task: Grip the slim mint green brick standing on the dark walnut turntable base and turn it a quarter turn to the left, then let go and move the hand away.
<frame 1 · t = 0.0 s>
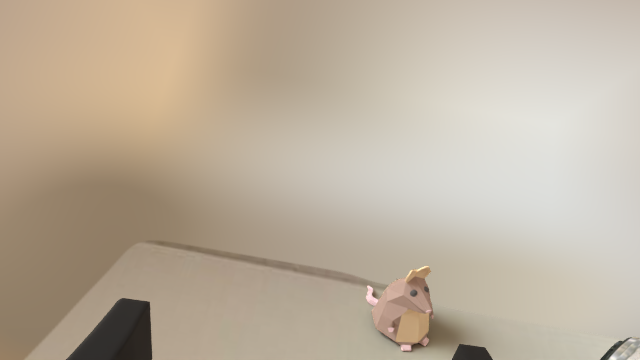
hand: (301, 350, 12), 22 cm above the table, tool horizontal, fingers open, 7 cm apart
mouse figurine: (390, 317, 45), on the table
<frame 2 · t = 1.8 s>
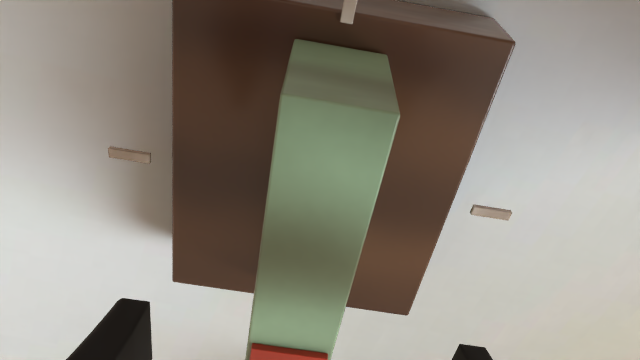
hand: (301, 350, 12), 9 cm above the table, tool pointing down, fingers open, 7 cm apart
mint green brick: (311, 221, 15), point 5 cm above the table, hinge at 0.0°
turntable: (317, 147, 19), on the table
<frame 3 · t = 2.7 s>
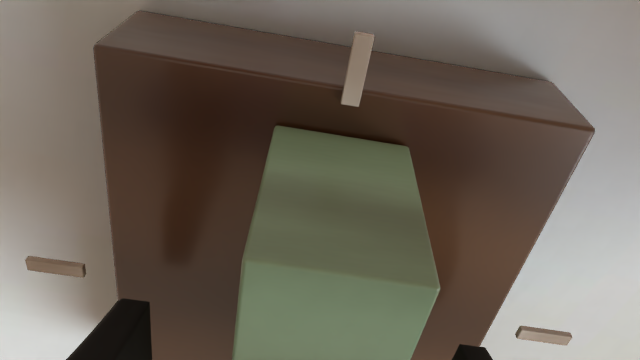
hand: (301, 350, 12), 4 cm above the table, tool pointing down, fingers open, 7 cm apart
turntable: (312, 237, 15), on the table
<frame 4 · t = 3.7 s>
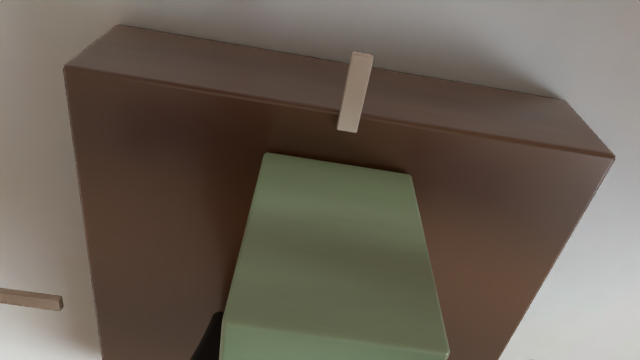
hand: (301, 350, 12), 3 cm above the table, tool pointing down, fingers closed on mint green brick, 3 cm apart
turntable: (307, 261, 14), on the table
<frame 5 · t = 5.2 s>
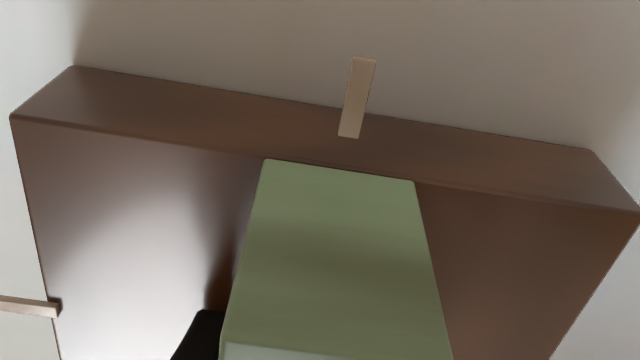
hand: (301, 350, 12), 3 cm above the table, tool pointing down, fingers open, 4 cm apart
turntable: (307, 267, 14), on the table
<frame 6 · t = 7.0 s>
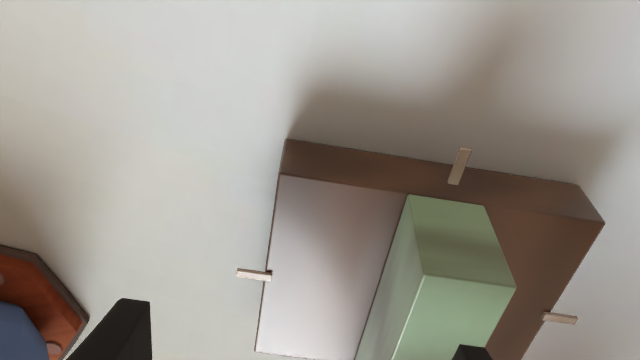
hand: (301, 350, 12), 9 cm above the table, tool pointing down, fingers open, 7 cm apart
mint green brick: (416, 338, 18), point 5 cm above the table, hinge at 90.0°
turntable: (403, 254, 22), on the table
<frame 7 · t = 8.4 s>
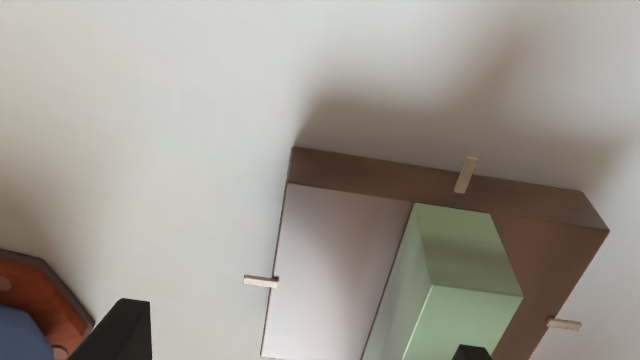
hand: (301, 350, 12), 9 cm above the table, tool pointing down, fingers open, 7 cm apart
mint green brick: (422, 345, 19), point 5 cm above the table, hinge at 90.0°
turntable: (408, 260, 22), on the table
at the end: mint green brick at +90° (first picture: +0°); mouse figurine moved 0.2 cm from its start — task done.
